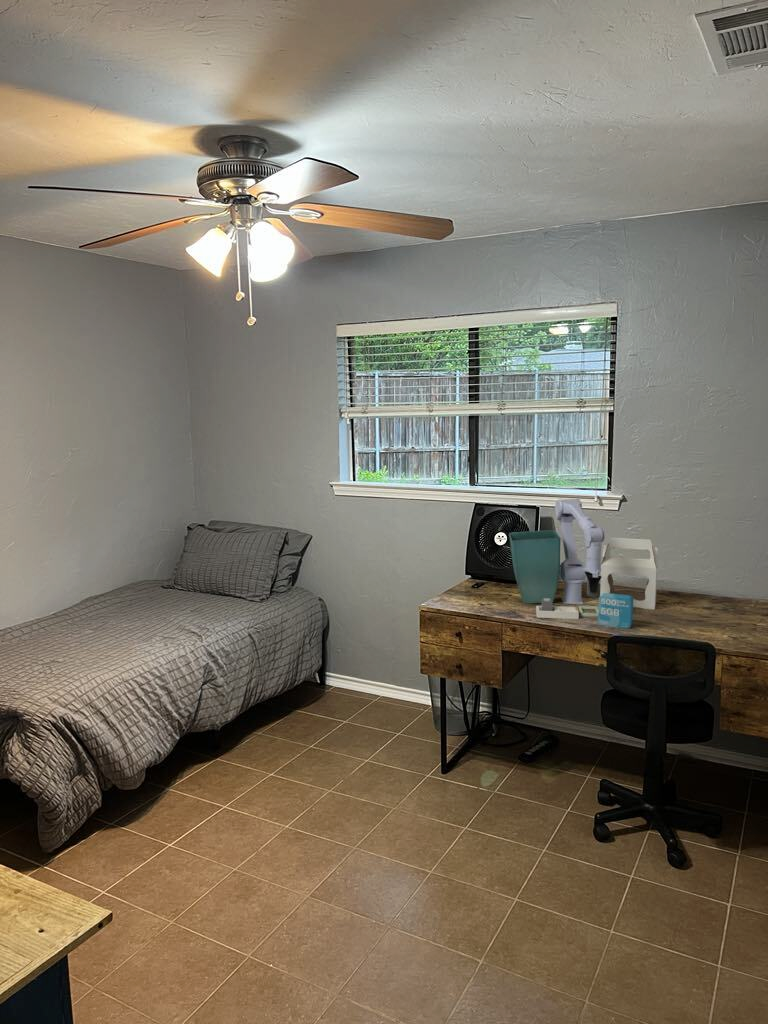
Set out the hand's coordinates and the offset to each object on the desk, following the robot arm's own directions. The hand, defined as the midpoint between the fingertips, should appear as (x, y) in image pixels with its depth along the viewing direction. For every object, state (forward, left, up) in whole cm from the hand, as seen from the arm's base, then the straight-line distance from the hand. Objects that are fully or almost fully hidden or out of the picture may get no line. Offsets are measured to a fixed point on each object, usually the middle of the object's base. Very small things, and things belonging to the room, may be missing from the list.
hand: (592, 590), depth 302 cm
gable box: (-18, +17, -10) cm, 26 cm away
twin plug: (+5, -18, -9) cm, 21 cm away
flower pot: (-17, -21, -9) cm, 29 cm away
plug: (0, 0, -2) cm, 2 cm away
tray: (-1, +1, -9) cm, 9 cm away
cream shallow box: (+5, -14, -9) cm, 18 cm away
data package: (+15, +7, -10) cm, 20 cm away
